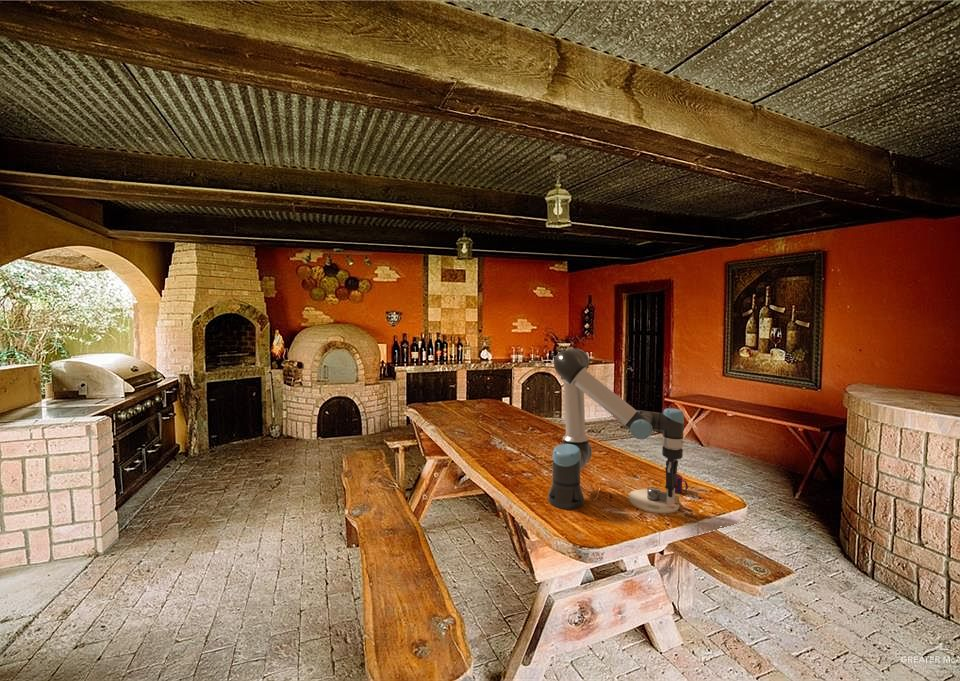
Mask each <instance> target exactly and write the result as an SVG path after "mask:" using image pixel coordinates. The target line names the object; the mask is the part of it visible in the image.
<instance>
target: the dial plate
mask: <svg viewBox="0 0 960 681" xmlns="http://www.w3.org/2000/svg"><path fill="white" fill-rule="evenodd" d="M628 501H629V503H630V504H631V505H632V506H634V507H635V508H637V509H640V510H642V511H645V512H649V513H652V514H673V513H675V512H677V511H678V510H680V503H679V504H677V503H674V505H671V504H667V501H664V500H659V501H651V500H649V499H648V498H647V488H646V489H645V488H642V489H641V488H640V489H635V490H632V491H630V492H629V493H628Z"/></svg>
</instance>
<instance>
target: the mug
mask: <svg viewBox="0 0 960 681" xmlns="http://www.w3.org/2000/svg"><path fill="white" fill-rule="evenodd" d="M683 483H684V484H685V489H683ZM675 486H677V488H675V494H681V493H682V492H686V491H687V490H688V487H689V485H688V482H687V481H686V480H684V479H683V476H682V474H679V473H677V477H676V485H675ZM665 490H666V491H667V488H665Z"/></svg>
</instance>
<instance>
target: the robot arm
mask: <svg viewBox="0 0 960 681" xmlns="http://www.w3.org/2000/svg"><path fill="white" fill-rule="evenodd" d="M589 366H590V358H589V356H588V354H587V352H585V351H584V350H582V349H579V348H568V349H567V350H563V351H560V352H559V353H558V354H556V356H555V357H554V361H553V367H554V370H555V371H556V374H557V375H558V376H559V377H560V380H561V381H563V383H564V385H563V386H564V411H565V413H564V417H565V418H564V419H565V434H564V436H562V444H559V445H556V446H555V447H554V448H553V451H552V483H551V486H550V489H549V491H548V494H547V501H548V503H549V502H550V503H551V505H552V506H554V507H555V508H558V509H559V508H560V509H563V510H564V509H565V510H574V509H579V508H581V507H583V506H584V504H585V498H584V497H585V496H584V493H583V490H582V487H581V470H582V469H584V467H585V466H586V465H587V464H588V463H589V462H590V460H591V457H592V455H593V454H592V453H593V451H592V447H591V445H590V438H589V437H588V436H587V435H586V423H585V422H586V419H585V395H587V396H588V397H589V398H590V399H591V400H592V401H594V402H595V403H596V404H598V405H599V406H600V407H601V408H603V409H604V410H605V411H607V412H608V413H609V414H610V415H611V416H612V417H614V419H616V420H617V421H619V422H620V423H621V424H622V425H624V426H625V427H626V428H627V429H629V431H630V434H631V435H632V437H634V438H635V439H637V440H640V441H641V440H642V441H643V440H646V439H648V438H649V437H650V436H651V435H652V433H653V431H656V432H662V443H661V444H662V451H661V454H662V456H663V457H664V458H666V459H667V460H666V461H665V486H664V488H665V489H666V488H667V490H666V492H667V504H671V505H674V499H675V494H676V493H675V488H677V486H675V485H676V477H677V474H678V465H679V460H681V459H682V458H683V454H684V453H683V452H684V451H683V447H684V444H685V440H684V431H685V430H684V426H685V414H684V411H683V410H681V409H679V408H670V407H667V408H664V410H663V412H656V411H647V410H638V409H635V408H634V407H632V405H630V403H628V402H626V401H625V400H624V399H623V398H621V397H620V396H619V395H618V394H616V393H615V392H614V391H613V390H611V389H610V388H609V387H607V386H606V385H605V384H603V383H602V382H601V381H600V380H599V379H597V378H596V377H594V376H593V375H592V374H591V373H589V372H588V368H589ZM550 503H549V504H550Z"/></svg>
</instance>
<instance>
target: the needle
mask: <svg viewBox="0 0 960 681" xmlns="http://www.w3.org/2000/svg"><path fill="white" fill-rule="evenodd" d="M646 489H647V498H648V499H649V500H651V501H659V500H664V501H667V491H661V489H659V488H658V487H655V486H650V487H647V488H646ZM674 503H677V504H679V505H680V493H675V499H674Z"/></svg>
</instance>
